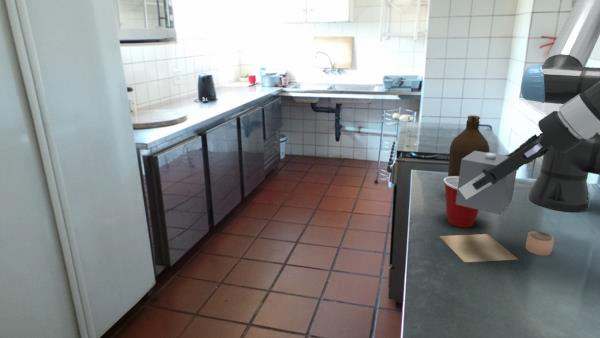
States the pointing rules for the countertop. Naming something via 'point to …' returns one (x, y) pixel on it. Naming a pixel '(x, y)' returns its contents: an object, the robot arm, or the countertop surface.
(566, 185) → the robot arm
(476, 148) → the brown glass bottle shape
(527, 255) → the countertop surface
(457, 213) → the plastic cup
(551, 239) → the terracotta pot
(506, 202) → the grey knobbed cube
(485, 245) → the oak board
